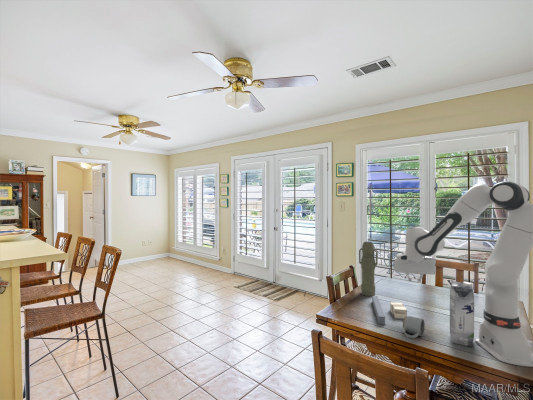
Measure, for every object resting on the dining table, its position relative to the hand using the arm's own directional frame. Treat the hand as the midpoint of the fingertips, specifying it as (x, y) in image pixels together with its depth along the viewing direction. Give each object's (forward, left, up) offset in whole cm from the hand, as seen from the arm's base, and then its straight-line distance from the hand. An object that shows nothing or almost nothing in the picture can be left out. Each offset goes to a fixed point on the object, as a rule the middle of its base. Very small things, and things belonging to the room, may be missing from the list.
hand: (414, 281), depth 150 cm
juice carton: (-23, -14, -19) cm, 33 cm away
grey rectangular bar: (0, +19, -19) cm, 27 cm away
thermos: (+29, +21, -19) cm, 41 cm away
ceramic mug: (-22, +5, -19) cm, 30 cm away
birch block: (0, +8, -19) cm, 21 cm away
